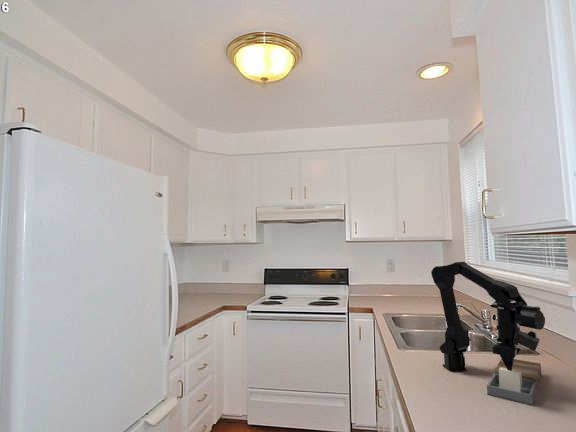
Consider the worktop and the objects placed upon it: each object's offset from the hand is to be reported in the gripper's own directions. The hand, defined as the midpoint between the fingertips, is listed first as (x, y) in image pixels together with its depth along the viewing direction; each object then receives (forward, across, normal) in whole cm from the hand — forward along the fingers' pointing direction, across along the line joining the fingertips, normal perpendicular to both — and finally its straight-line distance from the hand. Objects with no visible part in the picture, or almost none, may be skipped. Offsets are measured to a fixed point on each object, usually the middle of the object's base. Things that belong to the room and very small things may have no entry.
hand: (509, 370), depth 117 cm
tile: (+3, +1, 0) cm, 3 cm away
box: (+6, -2, -1) cm, 7 cm away
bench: (+6, +12, -1) cm, 14 cm away
